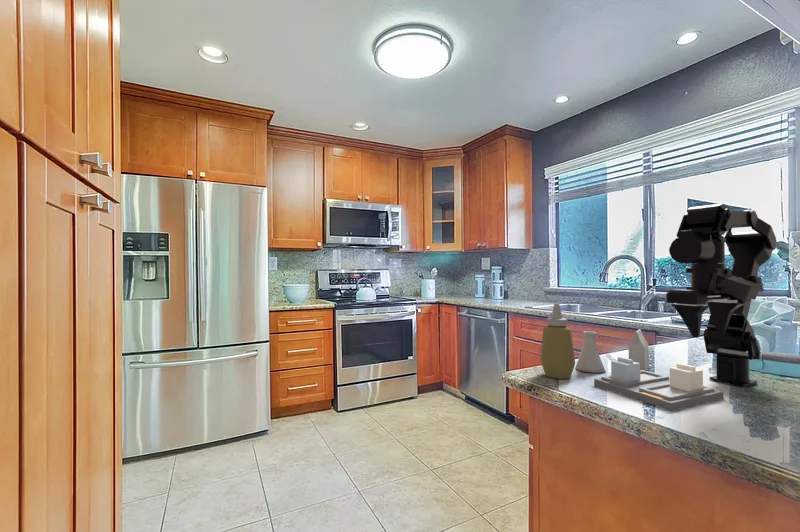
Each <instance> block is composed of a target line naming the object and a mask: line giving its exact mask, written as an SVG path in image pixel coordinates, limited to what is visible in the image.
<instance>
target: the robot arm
mask: <svg viewBox="0 0 800 532" xmlns="http://www.w3.org/2000/svg"><path fill="white" fill-rule="evenodd" d="M737 228H751V229H752V230H753V231H743V232H735V233H733V232H732V229H737ZM724 235H725V236H724ZM725 245H726V246H727V249H728V252H729V254H730V255H731V256H732V258H733V264H732V268H730V267H726V257H725V256H726V255H725V253H726V251H725V249H726V248H725ZM776 248H777V237H776V234H775V232H774V230H773V228H772V225H771V224H769V223H768V222H766V221H764V220H762V219H761V218H759V216H758V215H757V212H756V211H755V210H751V209H746V210H737V209H731V207H730V206H729V205H727V204H725V203H716V204H711V205H710V204H709V205H703V206H702V205H701V206H693V207H689V208H687V209H686V212H685V213H684V214H683V216H682V218H681V222H680V224H679V227H678V230H677V233H676V238H675V239H674V240H673V241H672V242H671V243H670V247H669V248H668V251H669V255H670V257H671V259H673V260H674V261H675V262H677V263H679V264H689V265H690V268H689V267H688V268H686V267H685V274H690V285H691V286H686V289H680V288H679V289H678V288H677V289H669V290H668V291H666V293H665V303H667V304H670V305H671V307H674V309H675V310H676V313H678V314H679V317H680V318H681V319H682V320H683V322H684V324H685V326H686V328H687V329H688V331H689V333H690V334H691V336H692V337H693V338H697V339H698V338H699V337H700V336H701V335H700V334H701V328H702V317H703V313H704V312H705V311H706V310H709V312H710V315H709V316H708V317H709V318H708V322H707V325H706V327H705V329H703V330H704V331H703V341H704V347H705V350H706V351H705V353H707V354H714V355H715V356H716V358H715V359H716V375H714V376H713V375H712V376H708V377H709V379H708V380H711V381H715V382H720V383H724V384H728V385H732V386H736V387H740V388H743V387H747V386H752V385H758V381H757V380H753V379H750V361H754V360H758V361H759V360H761V359H762V356H761V354H762V351H761V350H762V348H761V346H760V344H759V342H758V340H757V337H756V334H755V330H754V328H753V326H752V325H751V323H750V321H749V320H748V317H749V312H750V309H751V307H750V306H751V303H752V300H754V301H755V300H756V298H757V297H758V294H759V293H762V292H764V291H765V290H764V289H765V288H763V287H764V283H763V281H762V277H761V276H758V273H759V269H760V267H761V266H762V265H763V264H765V263H767V262H768V261H769V260H770V259H771V257H772V254H773V251H774V250H775V249H776ZM706 304H707V305H706Z"/></svg>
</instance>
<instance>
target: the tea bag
mask: <svg viewBox="0 0 800 532" xmlns="http://www.w3.org/2000/svg"><path fill="white" fill-rule="evenodd" d="M649 347H650V346H649V343H648V341H647V339H646V338H645V336H644V334H643V332H642V330H641V329H640V328H639V329H637V330H636V331H635V333H634V336H633V339H632V340H631V342H630V344H629V345H628V359H631V360H633V362H637V363H640V370H645V371H646V370H647V371H648V369H649V368H650V357H649V353H650V351H649Z"/></svg>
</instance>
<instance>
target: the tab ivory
mask: <svg viewBox="0 0 800 532" xmlns="http://www.w3.org/2000/svg"><path fill="white" fill-rule="evenodd" d="M703 376H704V371H703V369H700V368H697V367H696V366H693V365H689V364H683V363H679V362H678V363H676V366H673V367H669V378H670V387H673V388H676V389H680V390H684V391H687V392H689V391H694V390H699V389H703V385H704V377H703Z"/></svg>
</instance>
